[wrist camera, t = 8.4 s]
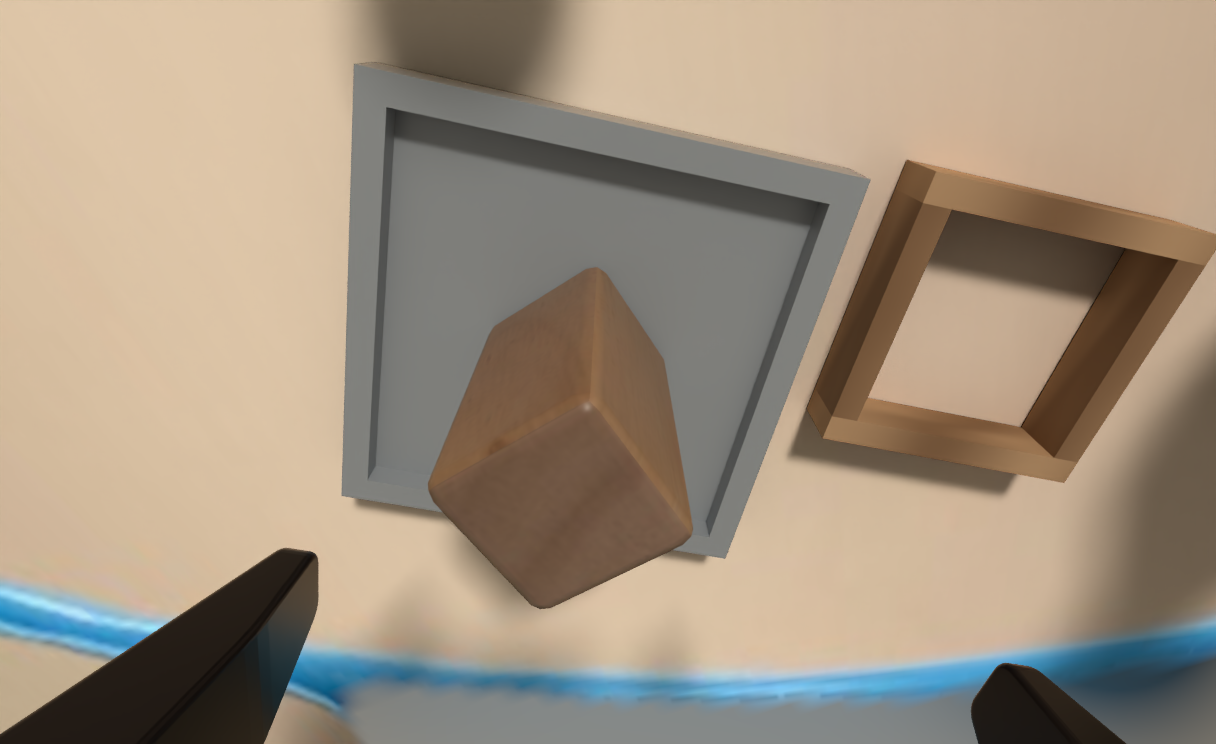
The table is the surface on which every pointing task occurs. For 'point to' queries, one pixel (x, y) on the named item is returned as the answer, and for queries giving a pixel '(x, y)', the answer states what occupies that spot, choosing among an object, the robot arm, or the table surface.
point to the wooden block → (566, 446)
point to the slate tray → (574, 270)
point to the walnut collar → (1085, 375)
